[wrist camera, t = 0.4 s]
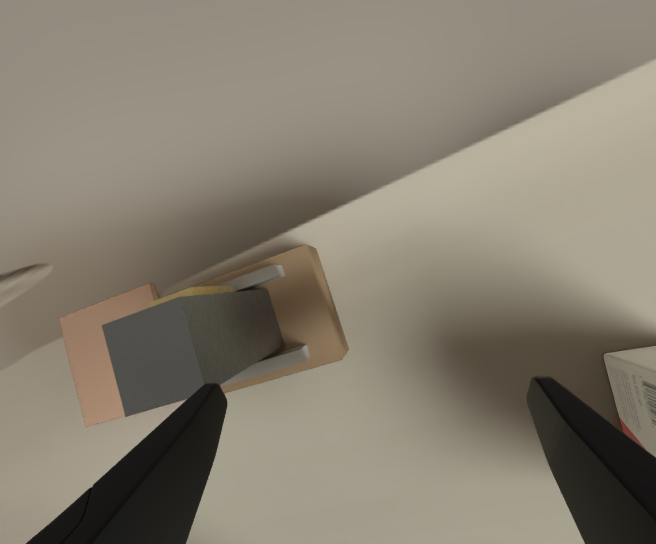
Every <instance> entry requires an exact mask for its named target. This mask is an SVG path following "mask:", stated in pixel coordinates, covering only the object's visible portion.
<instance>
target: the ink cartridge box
mask: <svg viewBox="0 0 656 544" xmlns="http://www.w3.org/2000/svg"><path fill="white" fill-rule="evenodd" d="M604 361H605V365H606V369H607V373H608V377H609V381H610V385H611V388H612V392H613V396H614V400H615V404H616V408H617V411H618V414H619V418H620V422H621V426H622V430H623V432H624V433H625V434H626V435H627V436H629V437H630V438H631V439H633V440H634V441H635V442H636V443H638V444H639V445H640V446H642V447H643V448H644V449H646V450H647V451H648V452H649V453H651V454H652V455H653V456H655V457H656V346H651V347H644V348H638V349H631V350H624V351H618V352H611V353H606V354H604Z"/></svg>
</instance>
